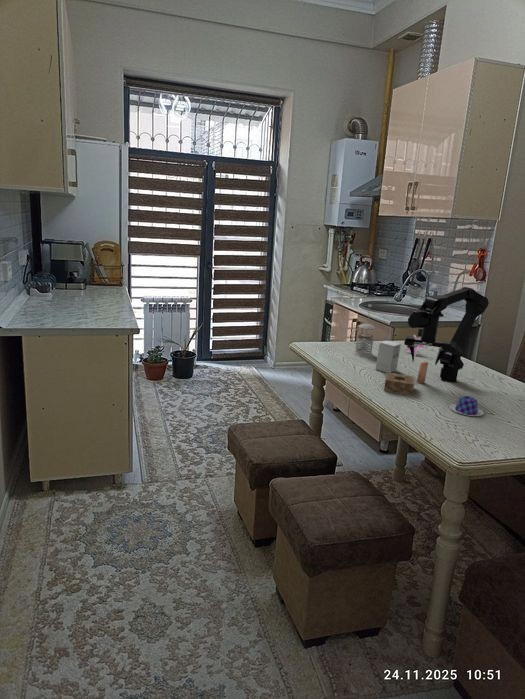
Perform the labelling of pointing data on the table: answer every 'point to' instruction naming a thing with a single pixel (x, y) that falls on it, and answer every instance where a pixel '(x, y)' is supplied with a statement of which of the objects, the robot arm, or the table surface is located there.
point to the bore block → (399, 383)
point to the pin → (422, 372)
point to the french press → (369, 340)
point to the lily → (415, 346)
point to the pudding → (467, 406)
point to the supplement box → (388, 356)
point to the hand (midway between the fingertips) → (424, 363)
